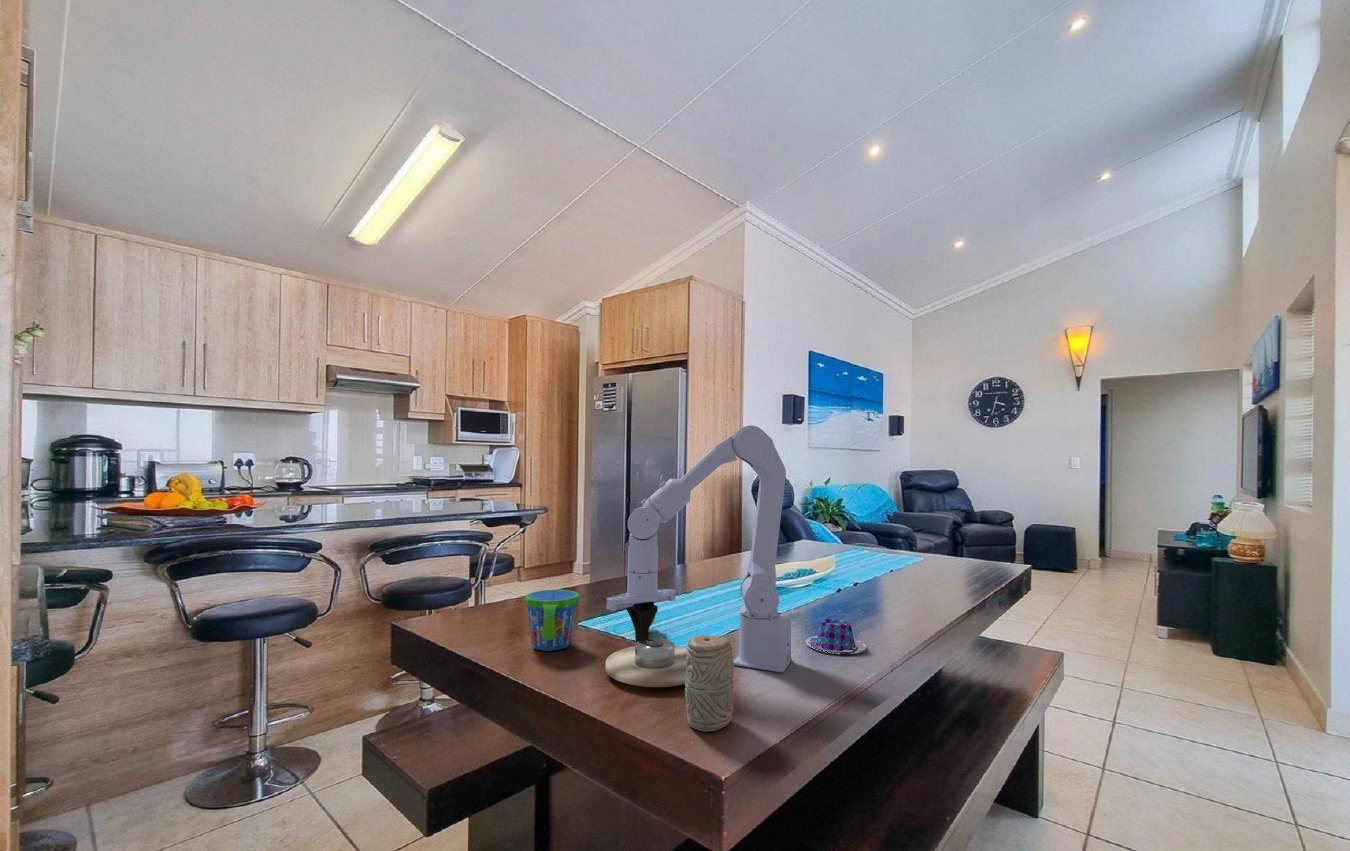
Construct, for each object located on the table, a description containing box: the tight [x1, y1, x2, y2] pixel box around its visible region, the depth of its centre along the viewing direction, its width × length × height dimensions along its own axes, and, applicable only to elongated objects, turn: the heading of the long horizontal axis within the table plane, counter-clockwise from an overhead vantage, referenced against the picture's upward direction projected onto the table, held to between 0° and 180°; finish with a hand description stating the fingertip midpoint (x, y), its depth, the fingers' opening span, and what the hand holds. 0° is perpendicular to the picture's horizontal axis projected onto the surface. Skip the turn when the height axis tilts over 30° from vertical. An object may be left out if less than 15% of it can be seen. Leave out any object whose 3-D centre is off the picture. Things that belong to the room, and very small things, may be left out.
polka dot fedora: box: [805, 618, 867, 655], centre depth 117 cm, size 12×12×5 cm
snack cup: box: [524, 589, 580, 652], centre depth 114 cm, size 16×10×10 cm
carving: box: [684, 634, 735, 733], centre depth 81 cm, size 6×8×12 cm
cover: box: [634, 637, 676, 669], centre depth 100 cm, size 7×7×4 cm
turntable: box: [605, 628, 688, 688], centre depth 100 cm, size 18×18×4 cm
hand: (641, 643), depth 107 cm, fingers closed
